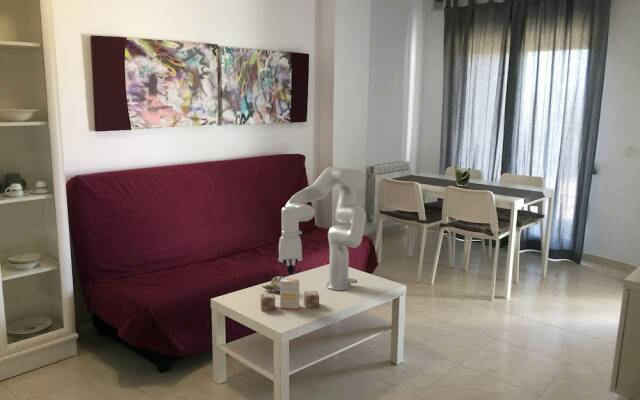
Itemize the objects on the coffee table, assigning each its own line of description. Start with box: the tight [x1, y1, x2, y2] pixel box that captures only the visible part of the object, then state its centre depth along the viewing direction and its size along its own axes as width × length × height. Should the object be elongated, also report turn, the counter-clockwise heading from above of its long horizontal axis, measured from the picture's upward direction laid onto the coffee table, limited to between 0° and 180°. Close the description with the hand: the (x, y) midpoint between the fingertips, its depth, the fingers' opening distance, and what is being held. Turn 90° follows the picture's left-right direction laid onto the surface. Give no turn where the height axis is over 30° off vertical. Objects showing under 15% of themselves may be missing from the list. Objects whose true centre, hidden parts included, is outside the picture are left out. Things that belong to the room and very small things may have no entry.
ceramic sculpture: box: [261, 274, 285, 293], centre depth 268 cm, size 11×9×15 cm
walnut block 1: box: [260, 292, 276, 312], centre depth 245 cm, size 6×6×6 cm
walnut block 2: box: [303, 290, 320, 309], centre depth 249 cm, size 6×6×6 cm
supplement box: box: [279, 277, 300, 310], centre depth 247 cm, size 8×5×13 cm, turn 84°
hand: (290, 273), depth 245 cm, fingers closed
